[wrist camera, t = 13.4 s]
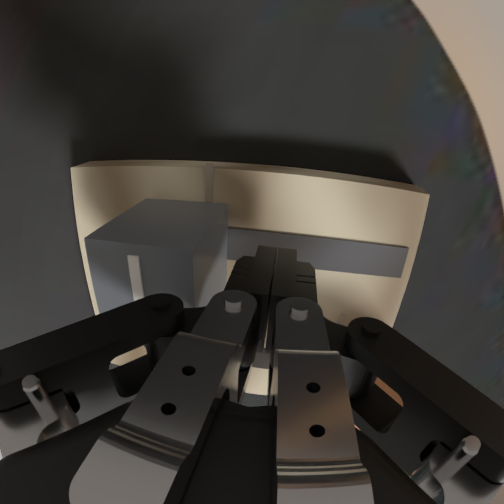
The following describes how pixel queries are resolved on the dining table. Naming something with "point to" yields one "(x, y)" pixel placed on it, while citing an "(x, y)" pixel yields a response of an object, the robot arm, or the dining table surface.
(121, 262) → the fader
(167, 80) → the dining table surface
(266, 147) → the dining table surface
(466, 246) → the dining table surface
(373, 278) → the panel
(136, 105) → the dining table surface
